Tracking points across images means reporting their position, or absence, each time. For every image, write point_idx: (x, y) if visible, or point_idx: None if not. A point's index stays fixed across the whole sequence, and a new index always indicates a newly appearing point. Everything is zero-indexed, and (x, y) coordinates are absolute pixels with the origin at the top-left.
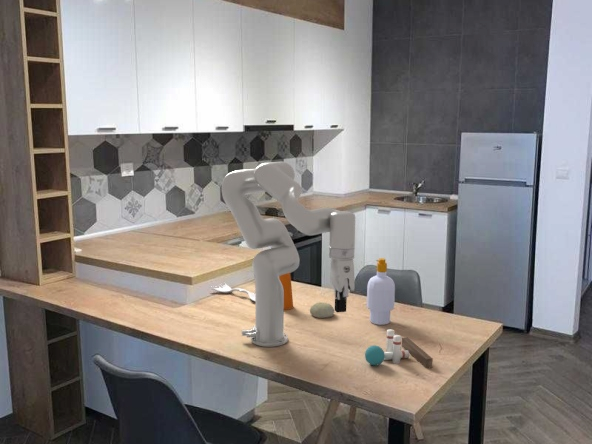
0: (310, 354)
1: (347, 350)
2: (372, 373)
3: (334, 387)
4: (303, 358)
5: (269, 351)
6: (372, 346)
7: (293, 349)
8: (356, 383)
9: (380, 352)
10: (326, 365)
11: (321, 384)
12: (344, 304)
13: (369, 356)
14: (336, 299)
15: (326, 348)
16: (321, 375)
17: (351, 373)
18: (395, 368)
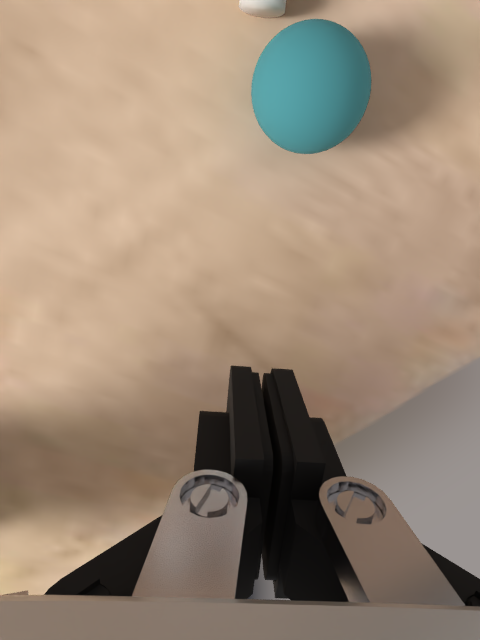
0: (94, 357)
1: (81, 161)
2: (387, 164)
3: (432, 376)
4: (131, 398)
5: (28, 497)
6: (315, 97)
7: (21, 407)
8: (442, 282)
9: (366, 66)
10: (231, 333)
11: (388, 410)
12: (334, 454)
13: (337, 143)
14: (282, 592)
15: (34, 260)
16: (316, 385)
17: (347, 261)
18: (386, 2)
